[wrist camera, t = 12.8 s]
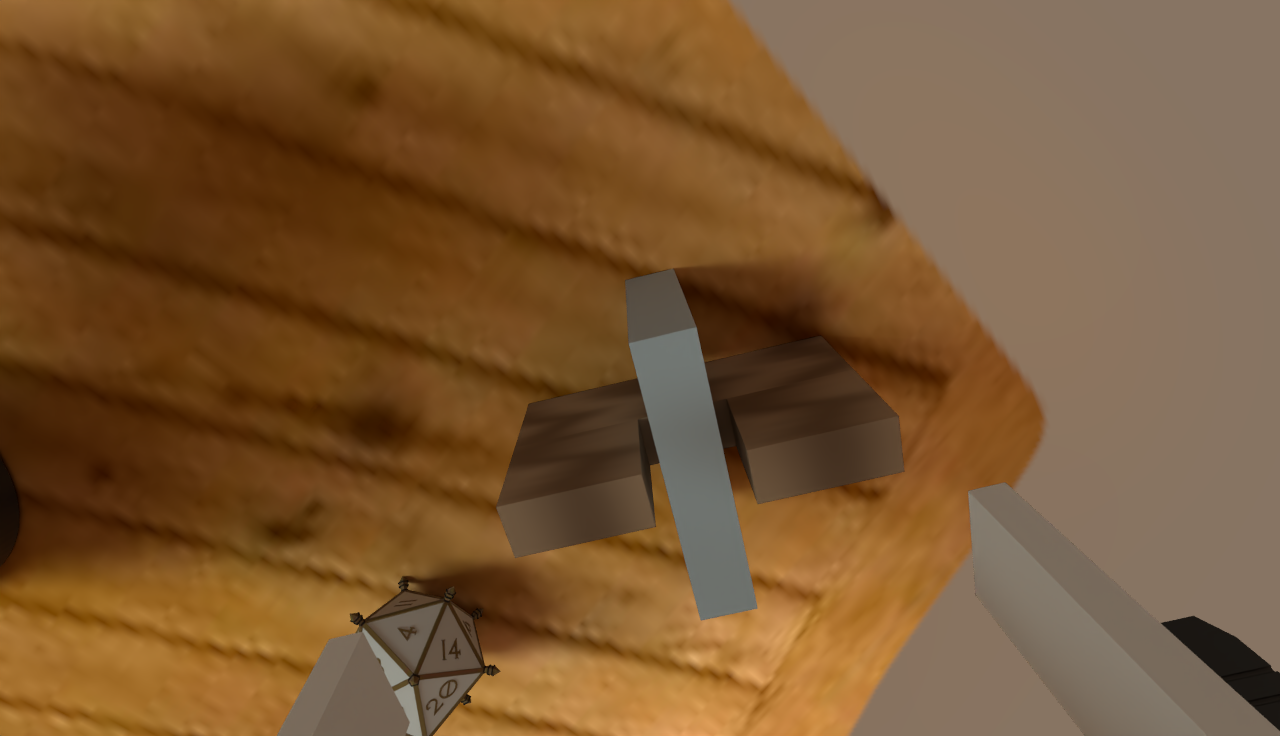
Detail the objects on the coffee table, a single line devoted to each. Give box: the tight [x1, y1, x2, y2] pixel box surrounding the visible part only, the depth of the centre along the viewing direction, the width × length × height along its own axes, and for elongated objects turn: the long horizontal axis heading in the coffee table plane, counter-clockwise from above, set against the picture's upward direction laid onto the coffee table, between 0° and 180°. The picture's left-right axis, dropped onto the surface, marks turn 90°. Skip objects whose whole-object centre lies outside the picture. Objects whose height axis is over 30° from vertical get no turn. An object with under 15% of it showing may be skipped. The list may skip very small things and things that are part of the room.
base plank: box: [496, 336, 904, 558], centre depth 30 cm, size 16×2×10 cm, turn 103°
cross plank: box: [625, 269, 757, 620], centre depth 30 cm, size 2×13×10 cm, turn 13°
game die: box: [350, 576, 501, 736], centre depth 36 cm, size 9×8×10 cm
